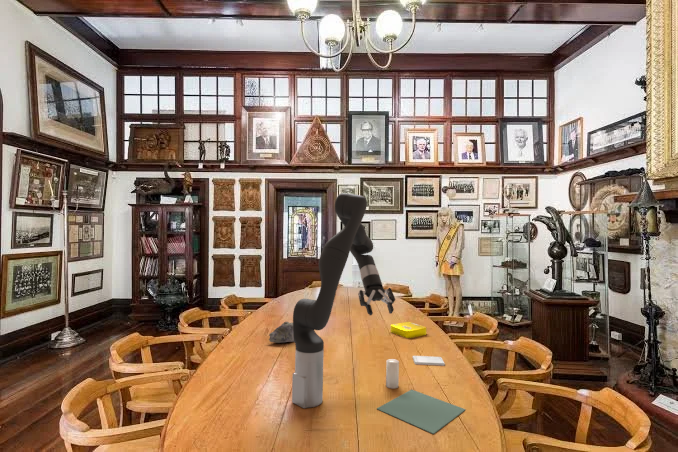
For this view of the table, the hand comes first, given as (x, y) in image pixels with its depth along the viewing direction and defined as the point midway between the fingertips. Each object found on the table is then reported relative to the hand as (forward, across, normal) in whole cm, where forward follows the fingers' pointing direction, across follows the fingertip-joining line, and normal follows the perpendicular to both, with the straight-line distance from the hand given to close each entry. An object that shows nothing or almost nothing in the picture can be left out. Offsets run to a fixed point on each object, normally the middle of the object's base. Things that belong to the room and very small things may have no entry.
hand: (381, 313), depth 146 cm
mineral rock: (-15, -31, +54) cm, 64 cm away
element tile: (-13, +38, +56) cm, 68 cm away
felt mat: (+37, +1, -6) cm, 38 cm away
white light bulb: (+25, -1, +8) cm, 26 cm away
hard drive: (+14, +26, +24) cm, 37 cm away
